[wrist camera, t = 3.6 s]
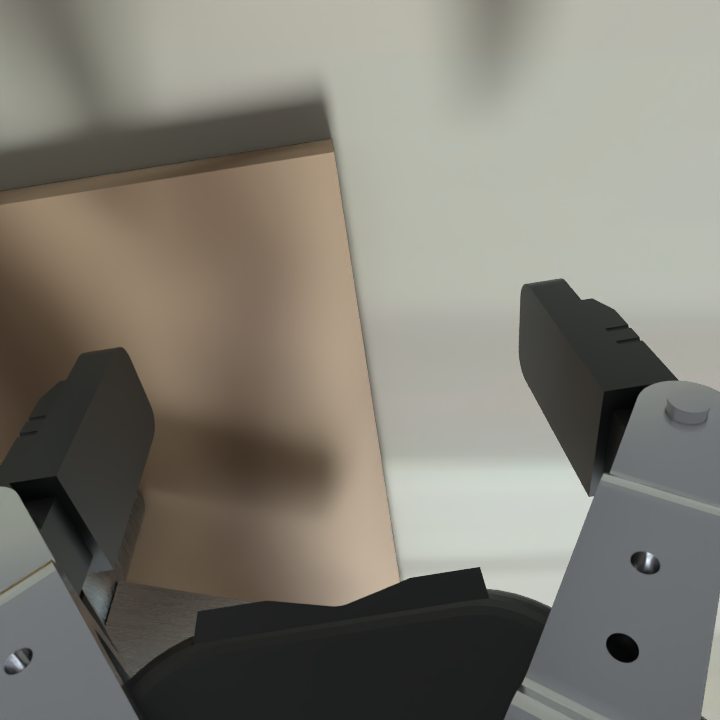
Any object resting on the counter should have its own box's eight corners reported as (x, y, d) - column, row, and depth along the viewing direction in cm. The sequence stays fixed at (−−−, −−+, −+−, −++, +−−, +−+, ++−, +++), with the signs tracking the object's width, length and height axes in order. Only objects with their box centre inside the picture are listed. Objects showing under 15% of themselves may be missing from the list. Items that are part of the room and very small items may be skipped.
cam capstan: (283, 185, 13) (271, 374, 7) (362, 565, 22) (388, 803, 15) (-422, 298, 13) (-1016, 577, 7) (-77, 633, 22) (-224, 897, 15)
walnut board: (331, 138, 14) (333, 152, 13) (410, 651, 28) (414, 676, 27) (-507, 272, 14) (-567, 294, 13) (-20, 718, 28) (-32, 745, 27)
